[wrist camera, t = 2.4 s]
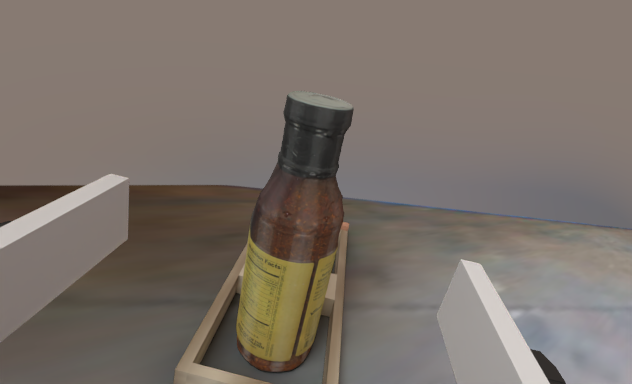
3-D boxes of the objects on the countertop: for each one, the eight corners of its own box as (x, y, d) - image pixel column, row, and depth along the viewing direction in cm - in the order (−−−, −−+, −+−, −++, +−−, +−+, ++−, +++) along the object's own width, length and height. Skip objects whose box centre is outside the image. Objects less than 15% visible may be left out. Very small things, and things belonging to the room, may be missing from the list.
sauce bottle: (291, 311, 33) (346, 94, 26) (323, 367, 29) (402, 119, 21) (220, 324, 30) (259, 79, 23) (242, 389, 25) (301, 105, 18)
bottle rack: (172, 391, 24) (175, 362, 23) (265, 220, 48) (268, 202, 47) (329, 432, 24) (338, 405, 23) (343, 240, 48) (348, 223, 47)
